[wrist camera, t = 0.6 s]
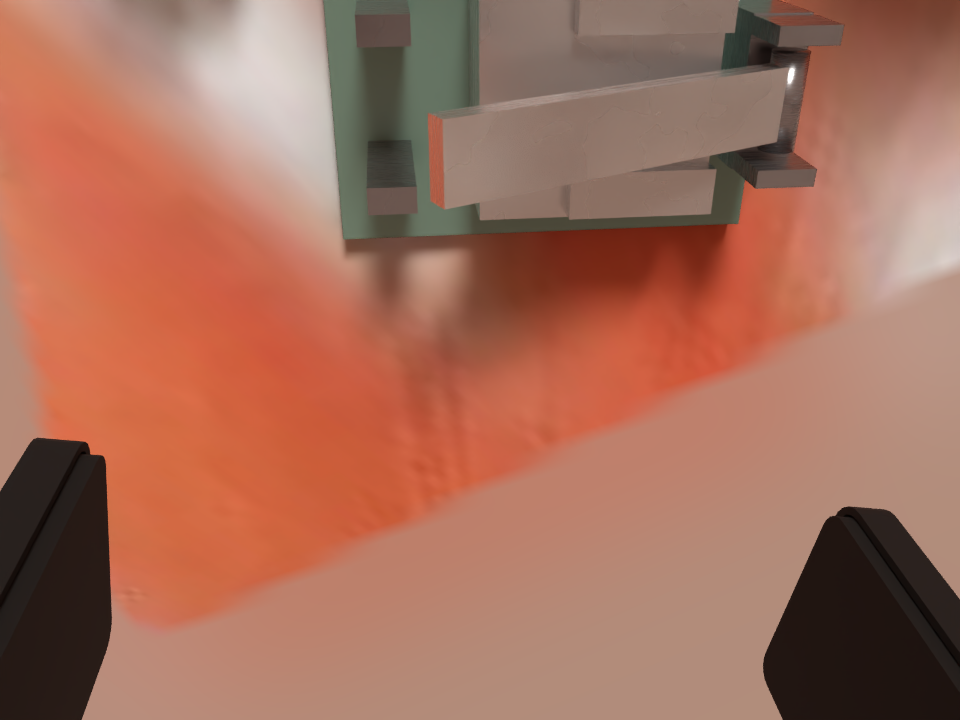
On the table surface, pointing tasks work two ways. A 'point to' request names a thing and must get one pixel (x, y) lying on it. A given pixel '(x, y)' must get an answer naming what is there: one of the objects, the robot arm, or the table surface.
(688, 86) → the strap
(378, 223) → the board
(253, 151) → the table surface
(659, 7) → the grey block frame
